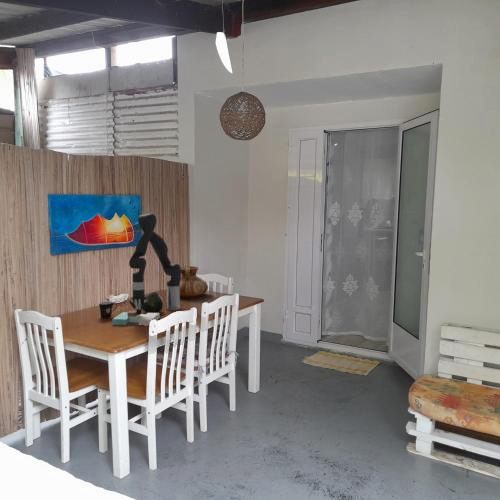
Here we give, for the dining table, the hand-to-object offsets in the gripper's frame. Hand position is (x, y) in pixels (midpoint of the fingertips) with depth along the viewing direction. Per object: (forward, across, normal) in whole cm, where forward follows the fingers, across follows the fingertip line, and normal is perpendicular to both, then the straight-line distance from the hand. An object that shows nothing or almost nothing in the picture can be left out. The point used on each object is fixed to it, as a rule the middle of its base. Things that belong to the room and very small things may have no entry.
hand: (139, 314), depth 292 cm
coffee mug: (+5, +24, -8) cm, 26 cm away
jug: (+5, -15, -81) cm, 83 cm away
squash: (+5, -1, -24) cm, 25 cm away
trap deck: (+5, +2, 0) cm, 5 cm away
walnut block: (+1, +4, 0) cm, 4 cm away
